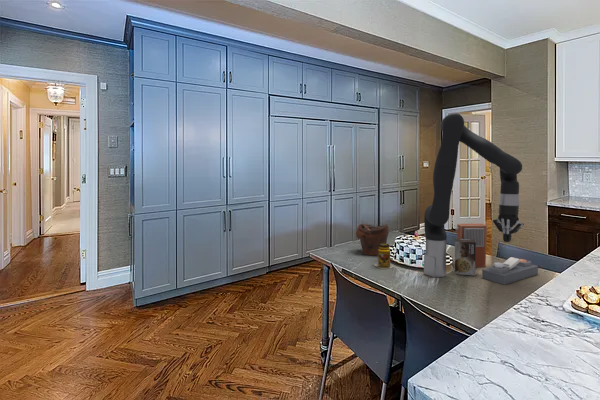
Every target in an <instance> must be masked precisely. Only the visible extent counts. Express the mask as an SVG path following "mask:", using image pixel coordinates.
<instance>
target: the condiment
mask: <svg viewBox="0 0 600 400" xmlns="http://www.w3.org/2000/svg"><path fill="white" fill-rule="evenodd" d="M377 259H378V260H377V261H378V263H375V264H373V266H375V267H377V268H379V269H380V270H386V269H392V268H394V266H393V265H391V249H390V244H389V243H387V242H386V243H381V244H379V249H378V255H377Z"/></svg>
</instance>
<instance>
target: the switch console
mask: <svg viewBox="0 0 600 400" xmlns="http://www.w3.org/2000/svg"><path fill="white" fill-rule="evenodd" d="M481 271H482V273H481V274H482V275H481V278H482V279H483V280H486V281H490V282H493V283H496V284H499V285H507V284H511V283H515V282H518V281H522V280H523V279H527V278H530V277H534V276H537V275H538V274H539V266H538V265H536V264H532V261H531V260H527V262H526V263H523V262H519V263H518V264H517V265H515V266H514V267H513V268H512V269H511V270H508V268H507V267H503V269H497V268H494V265H490V266H489V267H487V268H484V269H482V270H481Z"/></svg>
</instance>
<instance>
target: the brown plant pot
mask: <svg viewBox="0 0 600 400" xmlns="http://www.w3.org/2000/svg"><path fill="white" fill-rule="evenodd" d="M389 232H390V227H389V224H384V225H377V226H376V225H372V224H366V223H361V224H359V225H358V226H357V228H356V231H355V235H356V238H357V240H359V241H360V245H361V246H360V247H361V250H362V253H363V254H364V255H368V256H378V249H379V244H381V243H386V244H387V240H388V236H389V234H390V233H389Z"/></svg>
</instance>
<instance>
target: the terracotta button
mask: <svg viewBox="0 0 600 400" xmlns="http://www.w3.org/2000/svg"><path fill="white" fill-rule="evenodd" d="M519 259H520V262H523V263H526V262H527V261H528V260H527V259H524V258H519Z"/></svg>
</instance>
